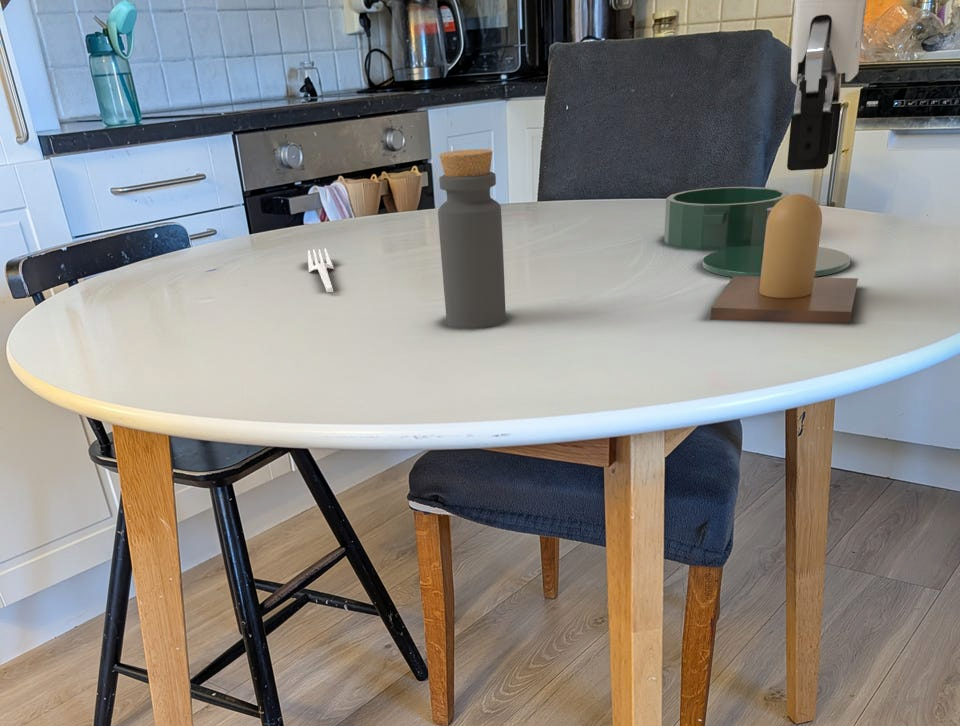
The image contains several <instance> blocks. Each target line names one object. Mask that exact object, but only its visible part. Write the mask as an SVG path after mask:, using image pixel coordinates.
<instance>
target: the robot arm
mask: <svg viewBox="0 0 960 726" xmlns="http://www.w3.org/2000/svg"><path fill="white" fill-rule="evenodd" d="M867 1H868V0H794V4H793V17H792V18H793V19H792V32H791V33H792V35H791V56H790V57H791V58H790V82H791V83H792V84H793V85H795V86H796V92H795V98H794V106H793V114H791V117H790V127H789V140H788V151H787V161H786V162H787V163H786V168H787V170H789V171H808V170H809V171H811V170H823V169H825V168H827V166H828V164H829V161H830V160H829V158H830V156H831V155H834V153H835V152H836V151H837V144H838V134H839V127H840V117H841V110H842V109H841V108H842V102H840V97H841V89H842V87H841V85H842V74H844V75H845V76H844V82H845V83H849V82H851V81H852V80H853V79H854V78H855V77H856V76H858V74H859V68H860V60H861V59H860V58H861V53H862V52H861V51H862V42H863V34H864V25H865V17H866V9H867Z"/></svg>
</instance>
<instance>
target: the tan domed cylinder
mask: <svg viewBox="0 0 960 726" xmlns="http://www.w3.org/2000/svg"><path fill="white" fill-rule="evenodd" d="M822 225H823V214H822V209H821V206H820V205H819V204H818V202H817V201H816V200H815V199H814V198H812V197H811V196H809V195H806V194H803V193H794V194H789V196H787V197H785V198H783V199H781V200H780V201H779V202H778V203H777V204H776V205H775V206H774V207H773V208H772V210H771V212H770V214H769V216H768V219H767V224H766V233H765V242H764V252H763V261H762V270H761V279H760V288H759V293H760V294H761V295H764V296H767V297H773V298H798V297H804V296H807V295H810V294H811V293H812V289H813V282H814V278H815V277H814V275H815V268H816V261H817V254H818V247H820V246H819V245H820V239H821V233H822V227H823V226H822Z"/></svg>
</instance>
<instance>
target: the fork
mask: <svg viewBox="0 0 960 726" xmlns="http://www.w3.org/2000/svg"><path fill="white" fill-rule="evenodd" d="M317 251H318V255H319V260H318V256H317V253H316V250H315V249H313V250H312V252H313V258H312V254H311V250H310V249H308V250H307V257H308V258H307V265H308V272H309V273H311V272H312V271H317V272H318V273H319V276H320V278H321V282H322V283H323V286H324V288H325V291H326V293H333V292H334V288H333V286H332V282H331V279H330V275H329V272H328V269H331V270H334V269H335V267H334V265H333V263H332V260H331V258H330V255H329V253H328V251H327V248H324V249H323V251H324V255H325V261H326V262H325V261H324V259H323V255H322V251H321V248H318V250H317ZM313 259H314V262H313ZM319 261H320V262H319ZM314 263H315V264H314Z"/></svg>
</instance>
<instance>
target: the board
mask: <svg viewBox="0 0 960 726" xmlns="http://www.w3.org/2000/svg"><path fill="white" fill-rule="evenodd" d="M760 279H761V277H756V276H733V277H731V279H730V280H729V282H728V283H727V284H726V285H725V287H724V289H722V291H721V293H720V295H719V296H718V297H717V299H716V300H715V302H714V303H713V304H712V306H711V307H710V318H709V319H710V320H713V321H715V320H716V321H717V320H718V321H740V322H741V321H745V322H746V321H747V322H772V323H773V322H774V323H777V322H778V323H804V324H829V325H833V324H834V325H850V322H851V317H852V312H853V306H854V302H855V298H856V293H857V288H858V283H859V282H858V281H859V278H857V277H852V278H851V277H814V282H813V289H812V293H811V294H810V295H807V296H804V297H798V298H773V297H767V296H764V295H761V294H760V293H759V288H760Z"/></svg>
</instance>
